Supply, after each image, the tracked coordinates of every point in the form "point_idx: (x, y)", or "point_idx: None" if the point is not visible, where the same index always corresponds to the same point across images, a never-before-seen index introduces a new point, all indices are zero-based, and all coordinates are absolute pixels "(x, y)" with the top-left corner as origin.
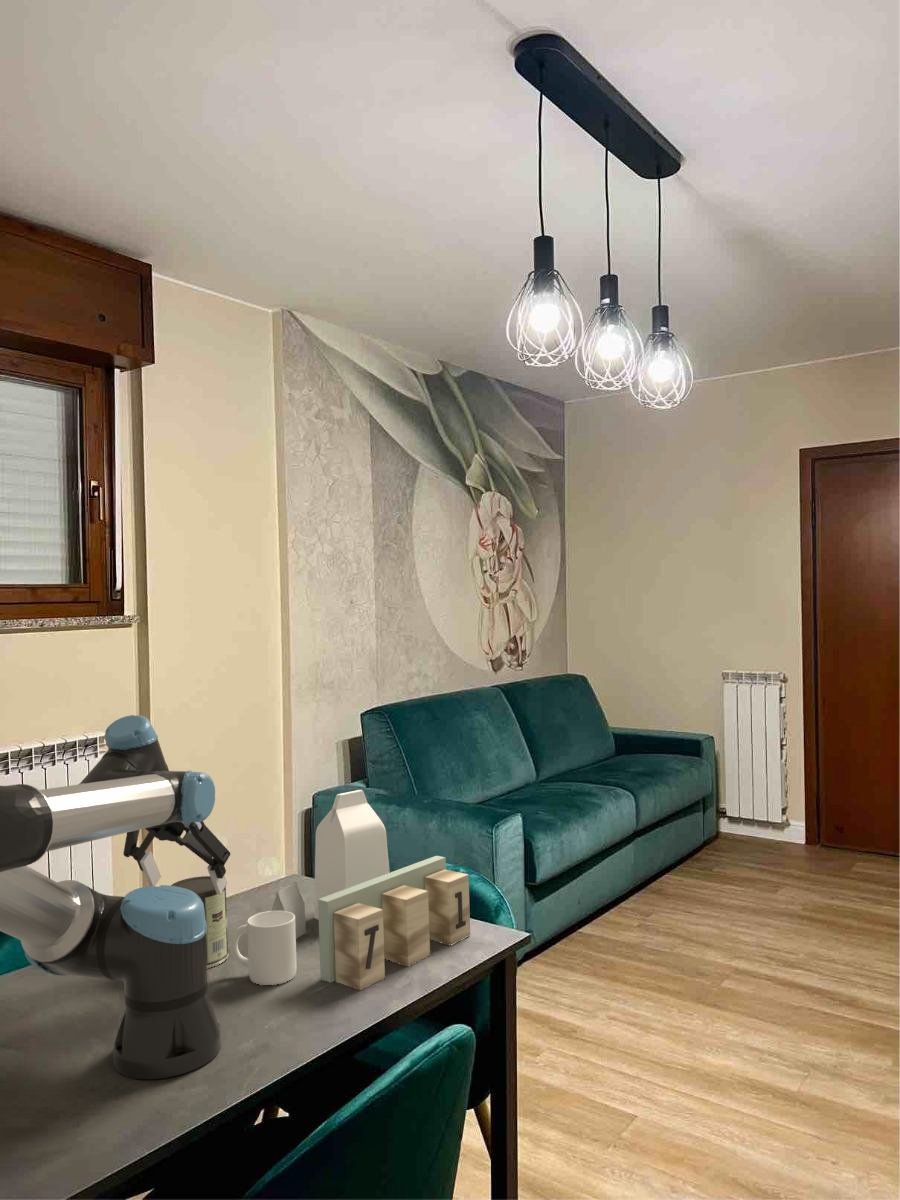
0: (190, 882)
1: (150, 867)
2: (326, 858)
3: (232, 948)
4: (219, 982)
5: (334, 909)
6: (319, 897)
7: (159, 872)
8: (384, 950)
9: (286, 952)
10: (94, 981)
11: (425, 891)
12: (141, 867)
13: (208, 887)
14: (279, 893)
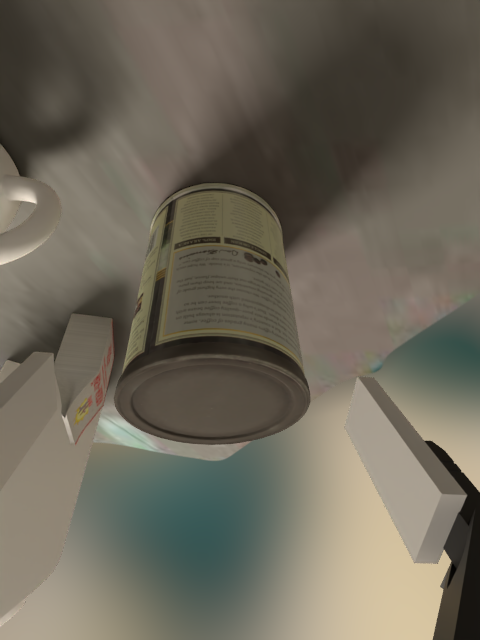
0: (253, 418)
1: (392, 461)
2: (33, 499)
3: (42, 203)
4: (77, 114)
5: None
6: None
7: (353, 442)
8: None
9: None
10: (477, 87)
11: None
12: (441, 459)
13: (161, 397)
14: (62, 412)
